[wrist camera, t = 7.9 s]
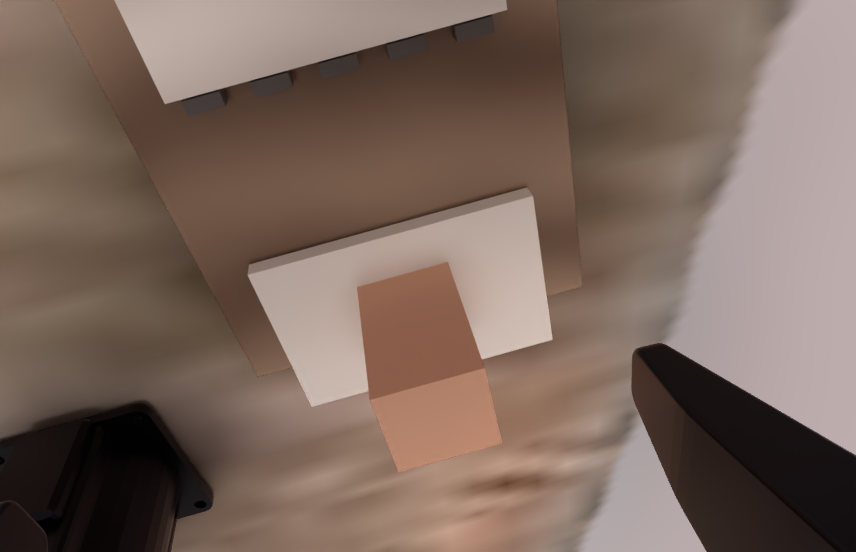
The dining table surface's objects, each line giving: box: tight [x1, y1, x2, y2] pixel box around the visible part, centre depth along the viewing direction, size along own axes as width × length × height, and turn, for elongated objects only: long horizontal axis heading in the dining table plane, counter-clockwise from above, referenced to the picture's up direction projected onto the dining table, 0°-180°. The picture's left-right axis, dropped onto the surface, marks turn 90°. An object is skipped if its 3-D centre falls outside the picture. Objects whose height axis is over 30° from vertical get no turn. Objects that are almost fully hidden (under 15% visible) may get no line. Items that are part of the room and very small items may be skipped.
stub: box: [248, 188, 552, 472], centre depth 19 cm, size 6×9×6 cm, turn 102°
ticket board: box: [54, 0, 583, 377], centre depth 17 cm, size 18×12×2 cm, turn 13°
